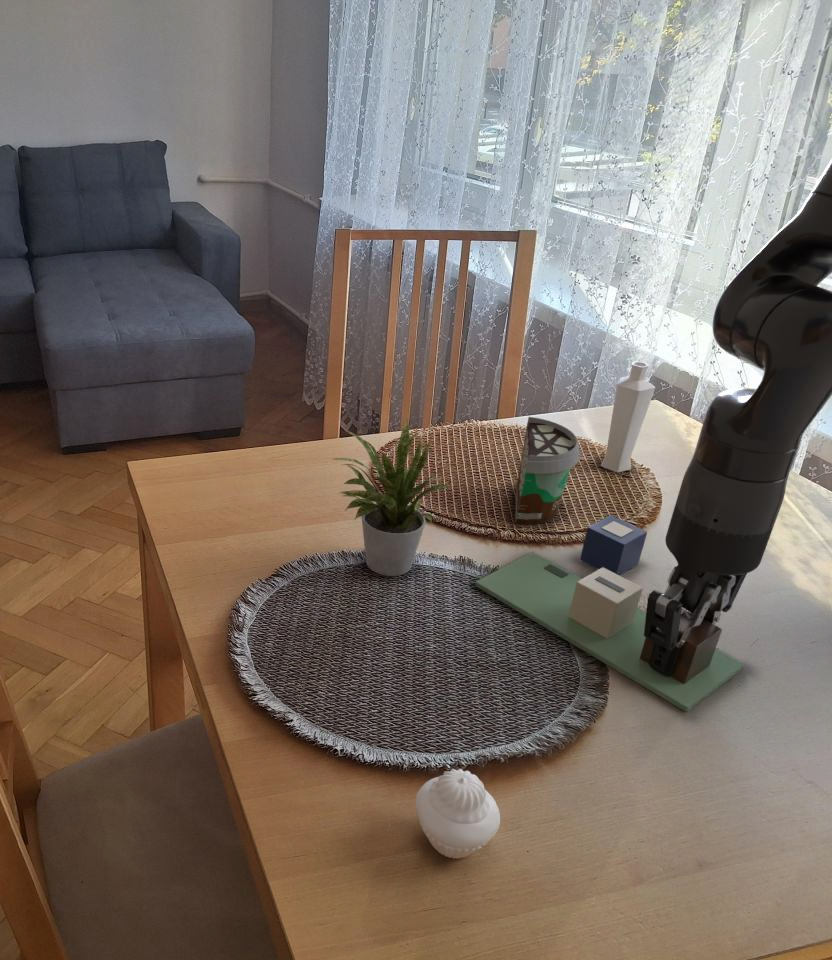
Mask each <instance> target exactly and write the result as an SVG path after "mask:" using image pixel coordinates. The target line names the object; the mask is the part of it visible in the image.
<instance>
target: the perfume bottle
mask: <svg viewBox="0 0 832 960" xmlns="http://www.w3.org/2000/svg"><path fill="white" fill-rule="evenodd" d="M648 368H650V365H649V364H648V363H646V362H645V361H634V360H633V361H632V362H631V369H630V372H629V375H626V376H622V377H620V378H619V380H618V382H617V384H616V389H615V396H614V401H613V407H612V408H613V409H612V414H611V421H610V427H609V432H608V439H607V445H606V451H605V456H604V458H603V459H602V461H601V464H600V467H602V468H604V469H607V470H609V471H612V472H614V473H621V472H625V471H630V470H632V464H631V463H632V462H631V458H632V455H633V452H634V450H635V447H636V443H637V441H638V438H639V435H640V432H641V429H642V427H643V424H644V420H645V418H646V415H647V412H648V410H649V407H650V404H651V400H652V398H653V395H654V392H655V390H656V386H654V384H652V383H651V382H649V380H647V379H646V376H647V373H648V370H649V369H648Z"/></svg>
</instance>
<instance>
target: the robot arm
mask: <svg viewBox="0 0 832 960" xmlns="http://www.w3.org/2000/svg"><path fill="white" fill-rule="evenodd" d="M831 274H832V159H831V160H830V161H829V163H828V164H827V166H826V168H825V169H824V171H823V172H822V174H821V176H820V177H819V179H818V181H817V182H816V184H815V185H814V187H813V189H812V190H811V193H809V196H808V197H807V198H806V200H805V202H804V204H802V207H801V208H800V210H798V212H797V214H795V215H794V217H793V218H792V219H791V220H789V221H788V223H787V224H785V225H784V226H783V227H782V228H781V229H779V231H778V232H777V233H776V234H774V236H773V237H771V238H770V240H769V241H768V242H767V243H766V244H765V245H764V246H763V247H762V248H761V249H760V250H759V251H758V252H757V253H756V254H755V255H754V256H753V257H752V259H750V260H749V261H748V263H746V264H745V266H743V268H742V269H741V270H740V271H738V273H737V274H736V275H735V276H734V278H733V279H732V280H731V281H730V282H729V283H728V284H727V286H726V288H725V289H724V291H723V292H722V294H721V296H720V297H719V299H718V302H717V304H716V306H715V310H714V313H713V317H712V334H713V338H714V340H715V343H716V345H718V347H719V348H721V349H722V350H723V351H725V353H727V354H729V355H730V356H733V357H735V358H737V359H739V360H740V361H741V360H742V361H743V362H745V363H747V364H749V365H751V366H753V367H755V368H757V369H758V370H761V371H763V375H762V378H761V381H760V383H759V384H758V386H757V387H756V388H748V387H739V388H730V389H727V390H724V391H722V392H720V393H718V394H717V395H716V396H715V397H713V399H712V400H711V402H710V403H709V406H708V408H707V410H706V413H705V416H704V419H703V422H702V425H701V428H700V431H699V435H698V439H697V441H696V445H695V449H694V452H693V455H692V458H691V460H690V462H689V464H688V466H687V467H686V470H685V473H684V475H683V478H682V481H681V485H680V487H679V491H678V493H677V497H676V501H675V505H674V508H673V511H672V513H671V518H670V521H669V524H668V528H667V531H666V534H665V540H664V541H665V545H666V548H667V549H668V551H669V552H670V553H671V554H672V556H673V557H674V559H675V561H676V562H677V565H675V566H674V567H673V568H672V569H671V572H670V574H669V575H668V579H667V587H666V590H665V591H664V592H663V593H662V592H660V591H658V590H655V589H654V590H653V589H652V591H651V592H649V594H648V596H647V602H646V611H645V612H646V620H645V629H644V636H645V637H647V638H648V639H650V640H652V641H654V642H655V643H654V646H653V649H652V653H651V656H650V659H649V666H650V667H651V668H653V669H654V670H656V671H658V672H660V673H661V674H663V675H665V676H670V675H672V674H673V673H674V672H675V669H676V666H677V663H678V660H679V657H680V654H681V651H682V648H683V645H684V644H685V641H686V639H687V637H688V635H689V633H690V631H691V629H692V628H693V627H697V626H699V625H700V624H701V622H702V620H703V619H704V620H706V621H708V622H710V623H712V624H714V625H716V624H717V623H718V622H719V621H720V619H721V615H722V612H723V613H725V614H726V613H727V612H728V611H731V609H732V605H733V603H734V601H735V599H736V597H737V595H738V594H739V591H740V589H741V587H742V585H743V582H744V581H745V579H746V577H747V575H748V573H751V572H753V571H755V570H757V568H758V567H759V566H760V565H761V562H762V559H763V557H764V554H765V551H766V549H767V545H768V543H769V540H770V538H771V536H772V532H773V530H774V527H775V525H776V521H777V519H778V517H779V513H780V510H781V507H782V505H783V501H784V500H785V499H784V498H785V494H786V489H787V485H788V484H787V483H788V479H789V475H790V472H791V469H792V467H793V464H794V462H795V459H796V457H797V456H796V455H797V453H798V450H799V447H800V445H801V442H802V439H803V437H804V433H805V432H806V431H807V429H808V428H809V426H810V424H811V423H812V422H813V421H814V419H815V418H816V417H817V416H818V414H819V413H820V412H821V411H822V409H823V408H824V407H825V405H826V404H827V403H828V401H829V399H830V398H831V397H832V290H830V289H827V288H825V287H821V286H819V284H821V283H822V282H823V281H824V280H826V278H827V277H828V276H829V275H831ZM684 610H686V611H688V612H690V613H692V614H693V616H691V615H689V614H687V613H685V612H684ZM680 623H681V628H680V630H679V625H680ZM678 632H679V633H678Z"/></svg>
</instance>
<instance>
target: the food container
mask: <svg viewBox="0 0 832 960" xmlns="http://www.w3.org/2000/svg"><path fill="white" fill-rule="evenodd" d="M523 440H524V441H523V447H522V452H521V458H520V463H519V469H518V474H517V480H516V486H515V523H514V524H519V525H538V524H543V523H547V522H549V521H551V520H552V519H554V518H555V517H556V515H557V514H558V512H559V508H560V504H561V501H562V498H563V495H564V492H565V487H566V485H567V481H568V478H569V476H570V472H571V469H572V468H573V467H575V466H576V465H577V464H578V463H579V461H580V445H579V441H578V438H577V436H576V435H575V433H574V432H573V431H571V429H569V428H568V427H565V426H563V425H561V424H559V423H557V422H554V421H551V420H549V419H544V418H540V417H533V416H528V418H527V422H526V427H525V434H524V439H523Z"/></svg>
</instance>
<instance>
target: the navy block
mask: <svg viewBox="0 0 832 960" xmlns="http://www.w3.org/2000/svg"><path fill="white" fill-rule="evenodd" d="M647 535H648V531H646V530H644V529H642V528H640V527H638V526H635V525H633V524H631V523H630V522H627V521H624V520H622V519H620V518H618V517H616V516H614V515H611V514H610V515H608V516H607V517H604V518H602V519H601V520H599V521H597V522H595V523H593V524H591V525H589V526H588V527H587V528H586V533H585V537H584V541H583V545H582V549H581V554H580V558H579V560H580V561H581V562H583V563H585V564H587V565H589V566H591V567H593V568H595V569H596V570H599V569H600V568H602V567H603V568H605V569H607V570H609V571H611V572H613V573H615V574H617V575H619V576H621V575H624V574H625V573H626V572H628V571H630V570H632V569H633V568H635V567H637V566H638V565H639V563H640V560H641V556H642V553H643V549H644V545H645V542H646V538H647Z"/></svg>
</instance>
